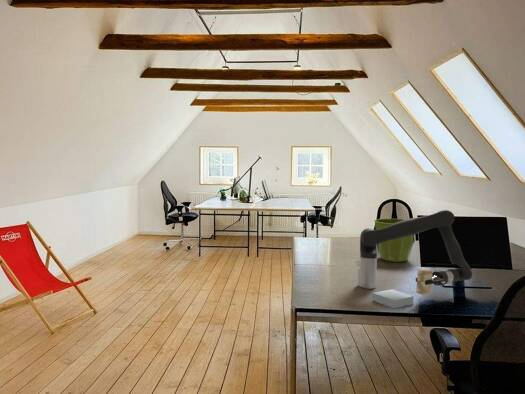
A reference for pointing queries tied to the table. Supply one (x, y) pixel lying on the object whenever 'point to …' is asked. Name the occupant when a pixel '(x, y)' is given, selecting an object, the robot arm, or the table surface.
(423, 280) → the beech block
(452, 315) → the table surface
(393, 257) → the plant pot
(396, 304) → the base
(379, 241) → the robot arm
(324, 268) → the table surface
